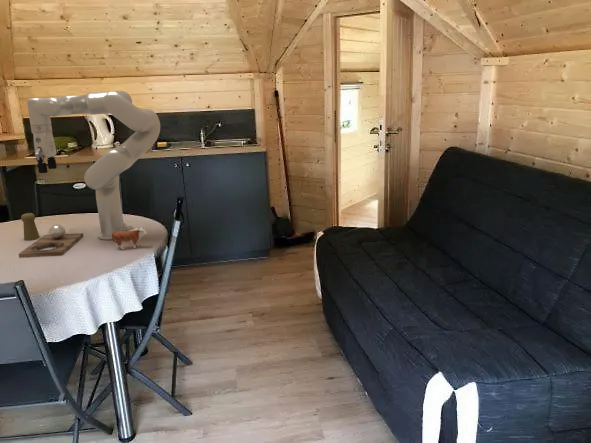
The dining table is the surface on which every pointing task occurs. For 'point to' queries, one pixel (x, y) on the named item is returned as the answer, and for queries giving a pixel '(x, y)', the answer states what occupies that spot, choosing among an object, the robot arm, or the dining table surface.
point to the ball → (57, 231)
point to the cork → (29, 227)
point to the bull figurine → (128, 237)
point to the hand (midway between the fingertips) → (48, 170)
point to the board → (51, 245)
